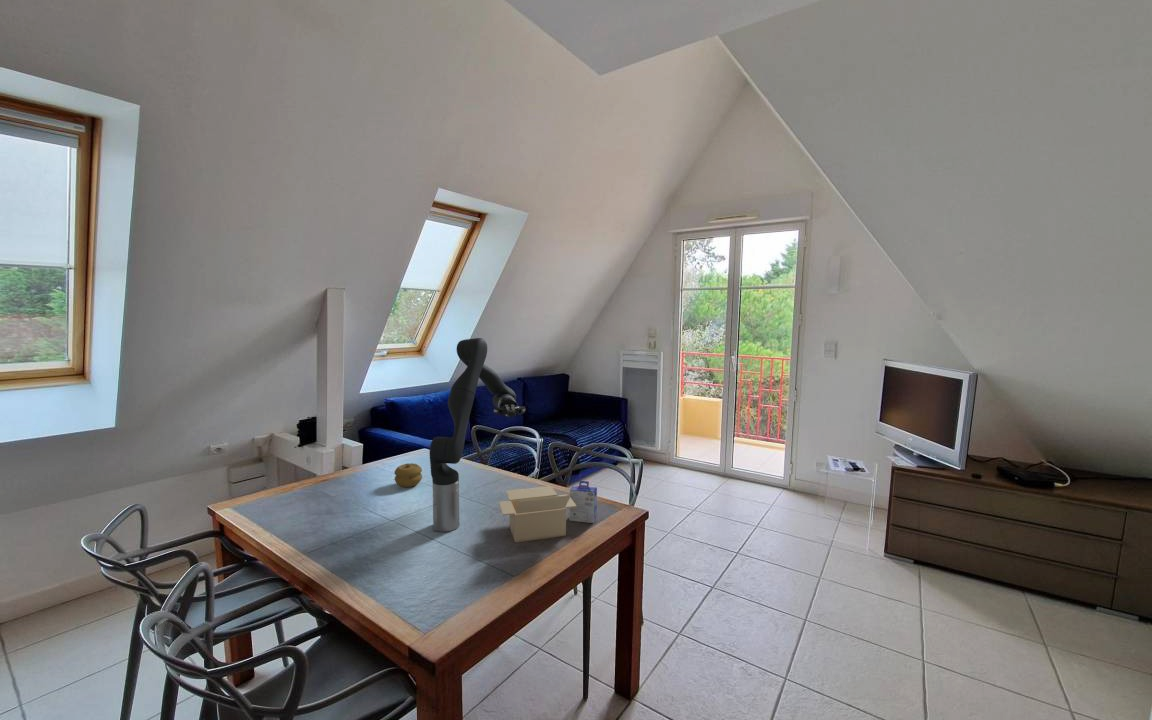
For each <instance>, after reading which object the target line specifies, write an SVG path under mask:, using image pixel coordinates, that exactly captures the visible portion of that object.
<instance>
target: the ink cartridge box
mask: <svg viewBox="0 0 1152 720" xmlns="http://www.w3.org/2000/svg"><path fill="white" fill-rule="evenodd" d="M589 483H590V482H589V481H585V480H579V484H578V485H572V486H571V488H570V490H569V495H570V498H571V499H572V500H573V502H574V503H575V504H576V506H577V507H571V508H569V517H568V520H569V521H570V522H579V523H580V522H582V523H590V524H595V522H596V520H597V519H598V517H597V516H598V515H597V514H598V512H597V509H598V505H597V504H598V494H597V493H598V487H595V486H590V484H589ZM585 484H586V485H585Z"/></svg>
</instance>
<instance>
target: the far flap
mask: <svg viewBox="0 0 1152 720" xmlns="http://www.w3.org/2000/svg"><path fill="white" fill-rule="evenodd" d="M569 498H570V494H568V496H559V497H550V498H541V499H532V500H522V501H519V504H518V508H517V511H516V513H522V512H530V511H539V510H548V509H556V508H565V507H566V505H567V503H568V501H569Z"/></svg>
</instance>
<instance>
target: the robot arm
mask: <svg viewBox="0 0 1152 720" xmlns="http://www.w3.org/2000/svg"><path fill="white" fill-rule="evenodd" d="M456 353H457V357H458V358H459V360H460V361H461V362H462V363H463V364H464V365H466V368H465V370H464V371H463V372H462V373H461V374H460V376H458V378H457V379H456V380H455V381H454V383H453V384H452V387H451V389H450V391H449V395H448V399H447V406H448V411H449V413H450V415H451V418H452V421H453V426H454V431H453V436H452V437H451V436H450V437H449V436H436V437H434V438H433V439H432V440H431V442H430V445H429V462H430V463H429V464H430V465H429V466H430V475H431V480H432V481H431V482H432V519H433V521H432V523H433V524H432V525H433V532H444V533H445V532H452V531H455V530H456V529H458V528H459V527H460V476H459V475H460V474H459V472H458V471H457V470H456V469H454V468H452V467H450V465H452V464H454V465H456V464H458V463H459V462H461V459H462V457H463V454H464V447H465V441H466V436H467V429H468V424H469V419H470V415H471V412H472V409H473V404H474V401H475V396H476V391H477V386H478V382H479V380H480V381H482V383H483V385H484V386H485V388H487V390H488V391H489V393H490V394H492V395H494V396H493V397H492V400H491V401H492V404H493V406H494V407H493V415H499V416H504V417H506V418H515V417H516V416H520V415H523V414H526V406H525V405H524V406H519V405H518V403H517V401H516V400H517V394H516V393H515V391H514V390H513V389H512V388H511V387H509V386H507V385H506V384H505V383H504V381H502V379H501V377H500V376H499V374H498V373H497V372H496V371H495V370H493V368H490V367H489V366H487V365H486V364H485V361H486V358H487V356H488V355H487V354H488V344H487V341H486V339H484V338H480V337H475V338H466V339H461V340H459V341H458V343H457V344H456ZM448 464H450V465H448Z"/></svg>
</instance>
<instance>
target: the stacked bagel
mask: <svg viewBox="0 0 1152 720" xmlns="http://www.w3.org/2000/svg"><path fill="white" fill-rule="evenodd" d="M422 471H423V469H422V467H421V466H420V465H419V464H418V463H417V464H416V463H413V462H412V463H408V462H407V463H404V464H400V465H399V466H398V467H396V469H395V470H394V481H395V483H396V484H397V485H398V486H399V487H402V488H412V487H414V486H417V485H418V484H419V483H420V482H422V481H421V480H422V479H423V474H422Z"/></svg>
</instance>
